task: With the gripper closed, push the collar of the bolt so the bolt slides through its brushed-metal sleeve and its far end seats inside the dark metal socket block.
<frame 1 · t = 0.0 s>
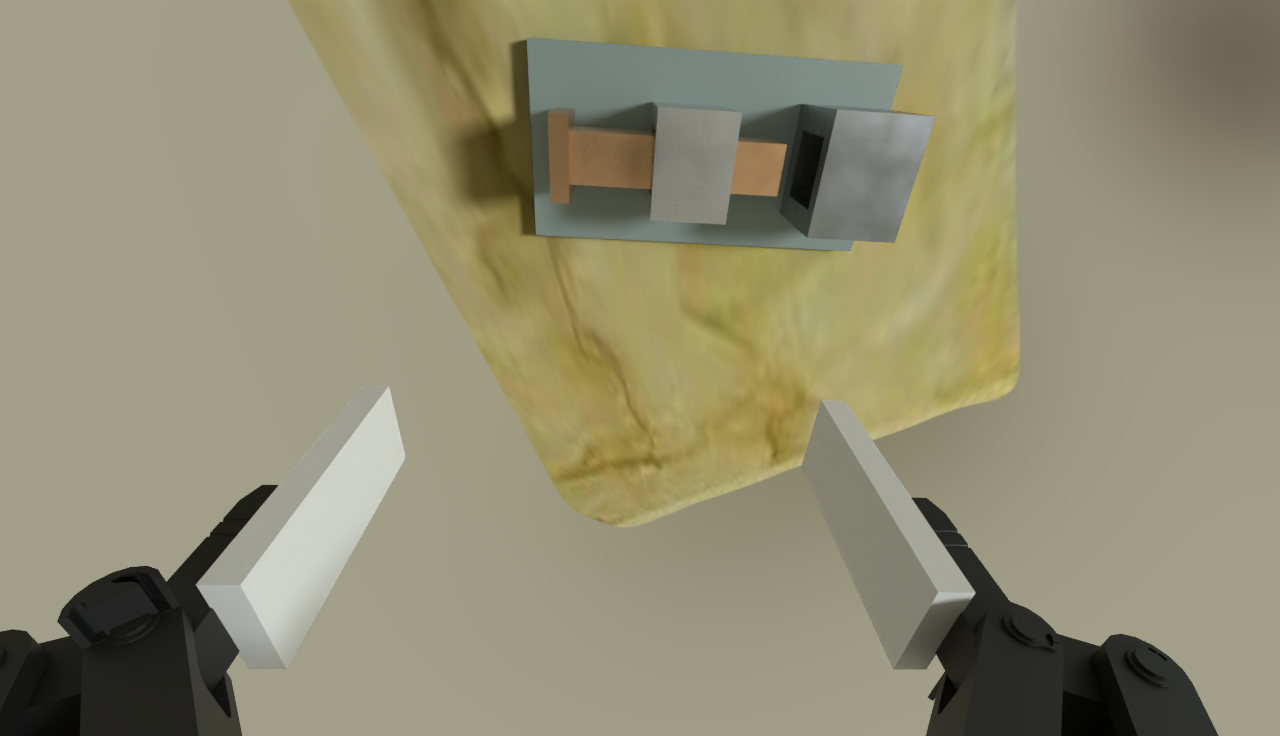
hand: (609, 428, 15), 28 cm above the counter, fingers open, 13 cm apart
bolt: (666, 160, 33), point 5 cm above the counter, slide at 0.0 cm
socket: (823, 161, 38), resting on board
board: (704, 153, 37), on the counter
sleeve: (681, 152, 37), resting on board
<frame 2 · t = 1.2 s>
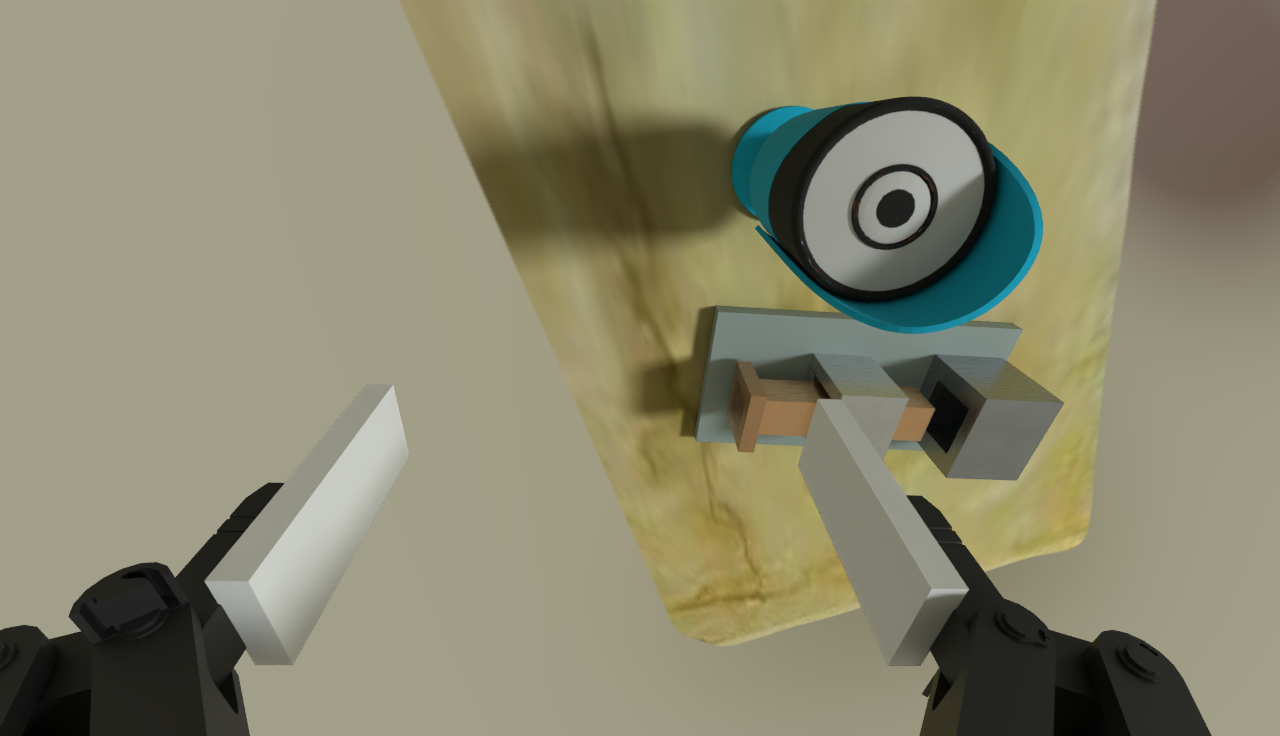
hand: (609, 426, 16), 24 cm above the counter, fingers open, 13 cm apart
bolt: (828, 409, 40), point 5 cm above the counter, slide at 0.0 cm
socket: (943, 386, 45), resting on board
board: (845, 381, 44), on the counter
sleeve: (826, 380, 44), resting on board
security camera: (781, 163, 35), on the counter
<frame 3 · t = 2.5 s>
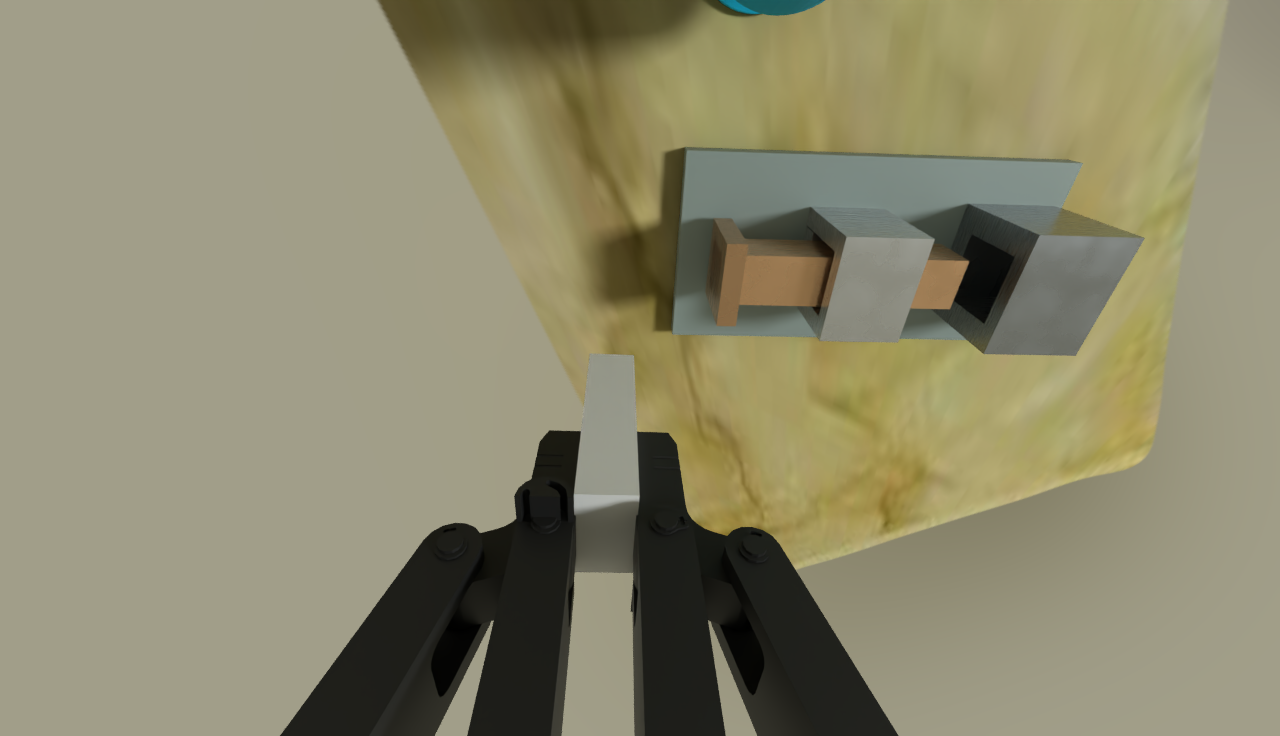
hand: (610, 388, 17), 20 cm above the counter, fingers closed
bolt: (831, 273, 32), point 5 cm above the counter, slide at 0.0 cm
socket: (978, 253, 36), resting on board
board: (853, 250, 36), on the counter
sleeve: (829, 249, 36), resting on board
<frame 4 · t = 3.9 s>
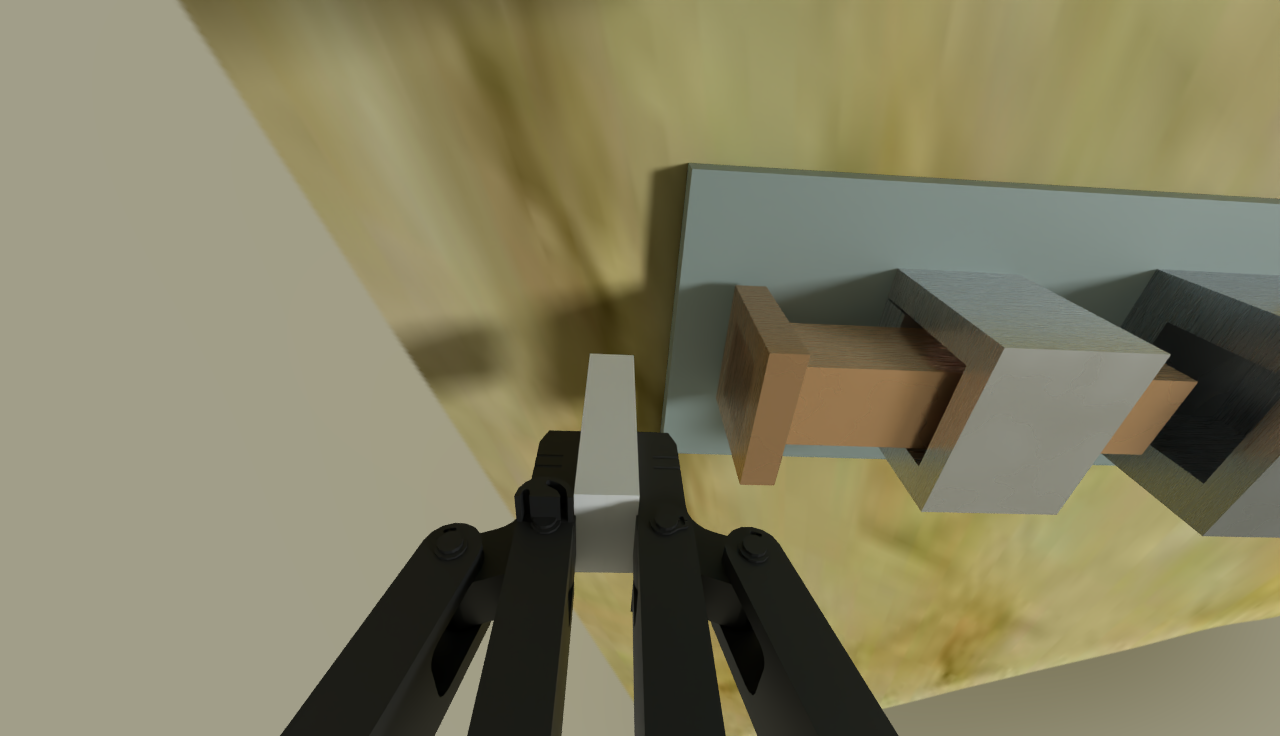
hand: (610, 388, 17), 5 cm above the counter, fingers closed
bolt: (937, 387, 18), point 5 cm above the counter, slide at 0.0 cm
socket: (1144, 341, 23), resting on board
board: (951, 333, 22), on the counter
sleeve: (914, 331, 22), resting on board
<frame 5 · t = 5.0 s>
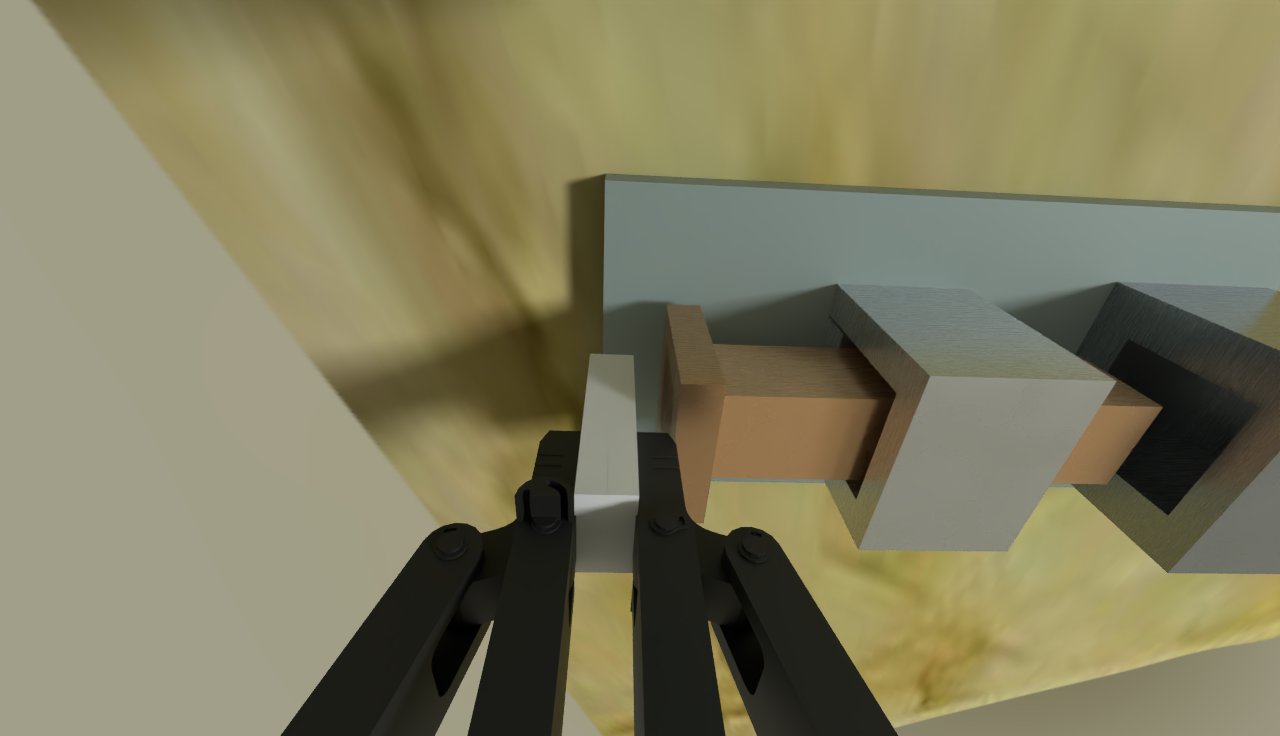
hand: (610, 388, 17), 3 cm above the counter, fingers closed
bolt: (884, 412, 17), point 5 cm above the counter, slide at 0.2 cm, touching gripper
socket: (1110, 357, 21), resting on board
board: (904, 350, 21), on the counter
sleeve: (864, 349, 21), resting on board
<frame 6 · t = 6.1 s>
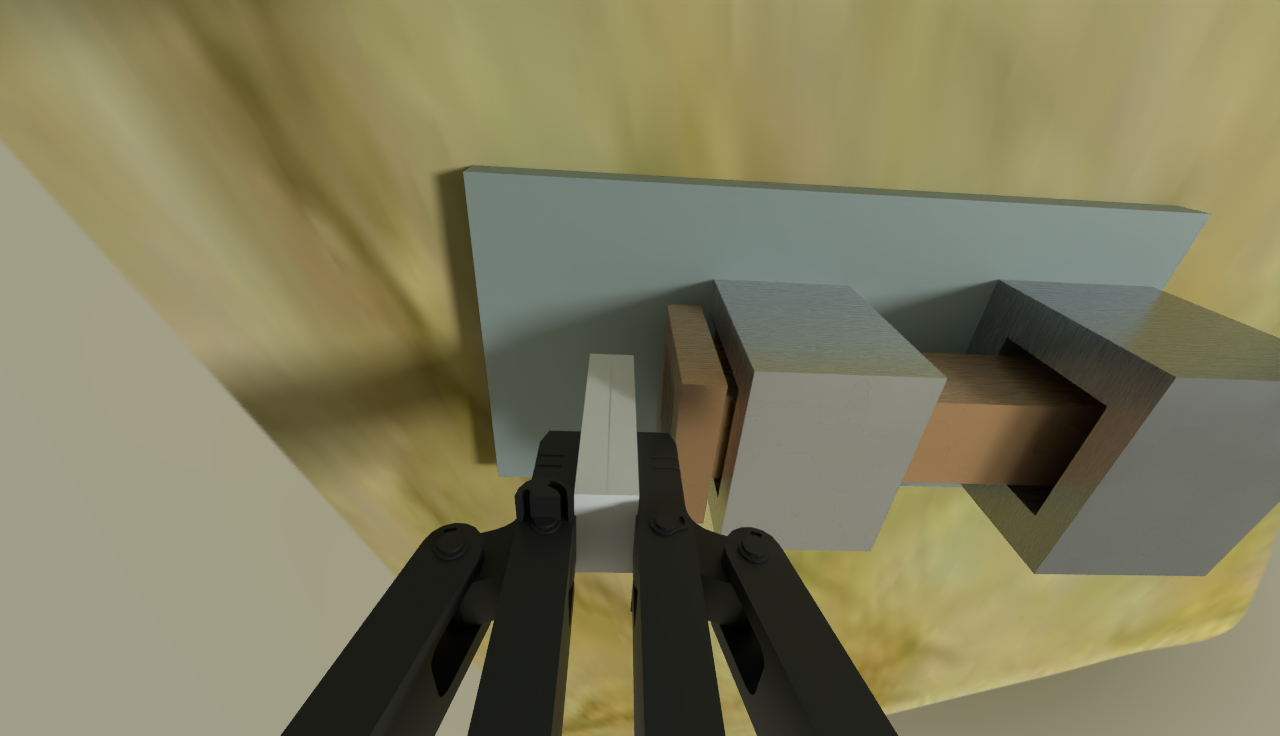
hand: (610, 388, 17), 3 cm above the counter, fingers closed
bolt: (884, 414, 17), point 5 cm above the counter, slide at 4.8 cm, touching gripper
socket: (1009, 356, 21), resting on board
board: (798, 348, 21), on the counter
sleeve: (757, 346, 21), resting on board
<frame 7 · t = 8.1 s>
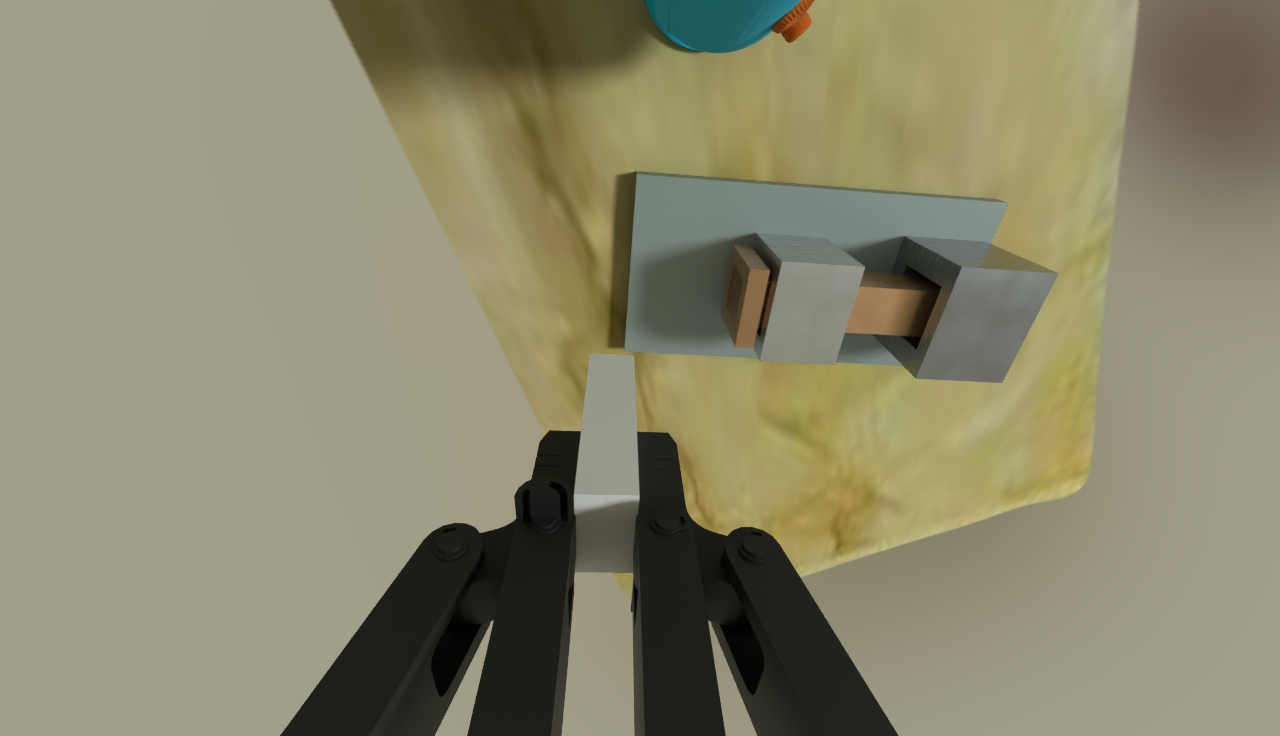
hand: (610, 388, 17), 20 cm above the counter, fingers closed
bolt: (843, 300, 33), point 5 cm above the counter, slide at 4.8 cm
socket: (916, 283, 38), resting on board
board: (798, 276, 37), on the counter
sleeve: (776, 274, 37), resting on board
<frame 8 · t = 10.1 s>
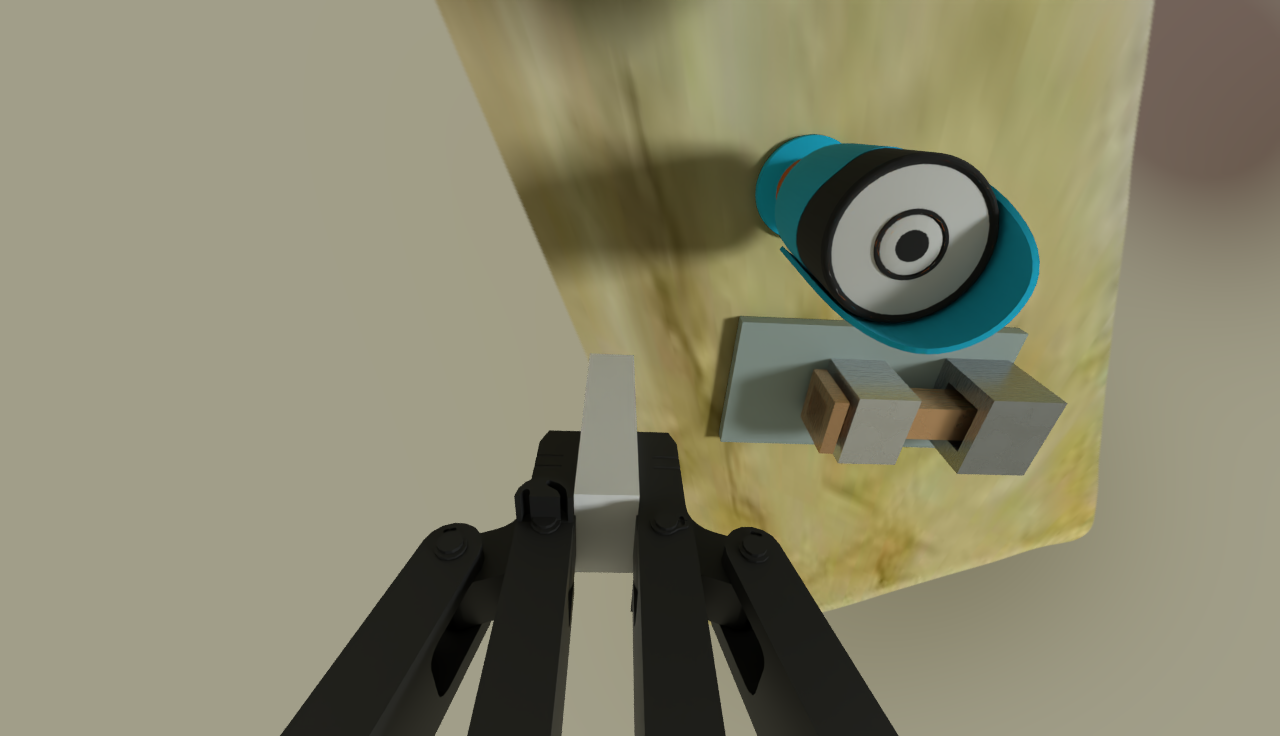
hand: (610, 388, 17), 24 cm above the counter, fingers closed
bolt: (900, 412, 43), point 5 cm above the counter, slide at 4.8 cm
socket: (953, 387, 48), resting on board
board: (860, 383, 47), on the counter
sleeve: (842, 383, 47), resting on board
security camera: (801, 185, 38), on the counter
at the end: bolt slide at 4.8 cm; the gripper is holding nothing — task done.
